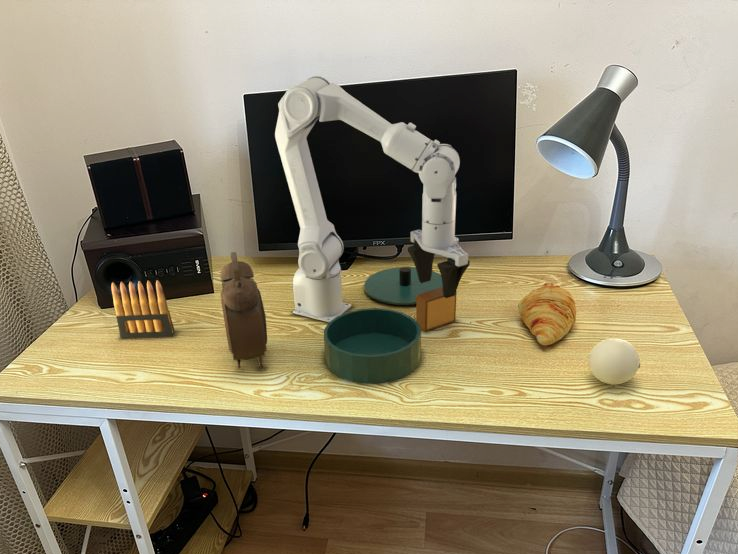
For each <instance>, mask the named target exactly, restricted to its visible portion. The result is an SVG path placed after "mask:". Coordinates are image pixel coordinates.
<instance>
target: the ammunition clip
mask: <svg viewBox="0 0 738 554" xmlns="http://www.w3.org/2000/svg"><path fill="white" fill-rule="evenodd" d="M155 281H156V282H155V289H156V294H155V291H154V287H153V285H152V283H151V281H150V280H147V282H146V290H147V293H146V291H145V288H144V285H143V283H142V282H141V280H138V281H137V290H138V294H137V290H136V287H135V285H134V283H133V282H132V281H131V280H130V281H129V283H128V289H129V290H127V287H126V285H125V284H124V282H123V281H120V284H119V290H120V293H119V290H118V287H117V285H116V284H115V282H114V281H112V282H111V294H112V299H113V306H114V310H115V314H116V315H115V317H116V321H117V326H118V332H119V336H120V339H121V340H122V339H123V340H124V339H148V338H150V339H151V338H173V337H174V336H175V333H176V331H175V326H174V323H173V320H172V316H171V312H170V309H169V307H168V303H167V298H166V297H165V293H164V290H163V285H162V284H161V282H160V281H159V279H156V280H155ZM128 291H129V292H128ZM138 296H139V297H138Z"/></svg>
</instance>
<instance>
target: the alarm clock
mask: <svg viewBox="0 0 738 554" xmlns="http://www.w3.org/2000/svg"><path fill="white" fill-rule="evenodd" d="M230 258H231V262H228V263H226V264H225V265H224V266H222V268H221V270H220V282H221V287H222V289H221V290H220V292H219V293H220V301H221V307H222V315H223V322H224V328H225V334H226V341H227V346H228V351H229V352H230V353H231V354H232V357H233V361H236V363H237V366H236V368H237V369H238V370H240V369H241V363H242V362H241V361H244V360H252V359H255V358H256V359H257V360H258V363H259V366H258V367H259V369H263V368H264V365H263V356H265V355H266V352H267V343H268V328H267V318H266V311H265V307H264V302H263V298H262V293H261V290H260V289H259V288H258V283H257V282H256V281H255V280H254V277H255V274H254V272H253V269H252V267H251V265H250V264H249V263H248V262H245V261H238V254H237V252H236V251H233V252H230Z"/></svg>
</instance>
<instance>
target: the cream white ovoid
mask: <svg viewBox="0 0 738 554" xmlns="http://www.w3.org/2000/svg"><path fill="white" fill-rule="evenodd" d="M640 367H641V362H640V355H639V352H638V350H637V349H636V348H635V346H634V345H633V344H631V342H629V341H628V340H624V339H621V338H617V337H616V338H615V337H611V338H605V339H603V340H600V341H599V342H597V343H596V344H595V345H594V346H593V347H592V349H591V350H590V353H589V355H588V368H589V370H590V372H591V374H592V375H593V376H594V378H596V379H597V380H598V381H600V382H601V383H603V384H606V385H613V386H615V385H621V384H624V383H627V382H629V381H630V380H632V378H634V377H635V376H636V374H637V372H638V371H639V370H638V369H640Z"/></svg>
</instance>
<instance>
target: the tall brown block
mask: <svg viewBox="0 0 738 554" xmlns="http://www.w3.org/2000/svg"><path fill="white" fill-rule="evenodd" d="M457 291H458V290H456V293H455V296H452V297H449V298H445V297H444V295H443V287H441V288H437V289H434V290H431V291H428V292H425V293H421V294H418V295H417V296H416V304H415V305H416V307H415V308H416V309H415V311H416V312H415V321H416V322H417V323H418V324H419V326H420V329H421V331H424V332H427V331H431V330H433V329H437V328H440V327H443V326H445V325H448V324H452V323H454V322H456V313H457V293H458V292H457Z"/></svg>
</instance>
